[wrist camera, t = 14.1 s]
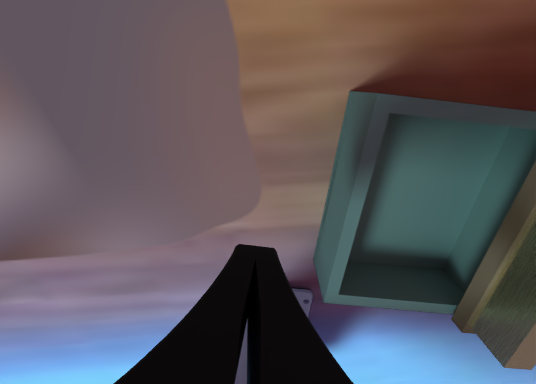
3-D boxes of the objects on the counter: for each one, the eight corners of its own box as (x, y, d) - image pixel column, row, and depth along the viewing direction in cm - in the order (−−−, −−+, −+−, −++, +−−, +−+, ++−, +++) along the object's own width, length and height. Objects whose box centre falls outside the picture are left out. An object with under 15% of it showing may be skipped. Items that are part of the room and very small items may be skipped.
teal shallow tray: (442, 271, 21) (484, 317, 17) (313, 259, 21) (323, 302, 17) (518, 111, 16) (603, 119, 12) (349, 91, 16) (377, 92, 12)
